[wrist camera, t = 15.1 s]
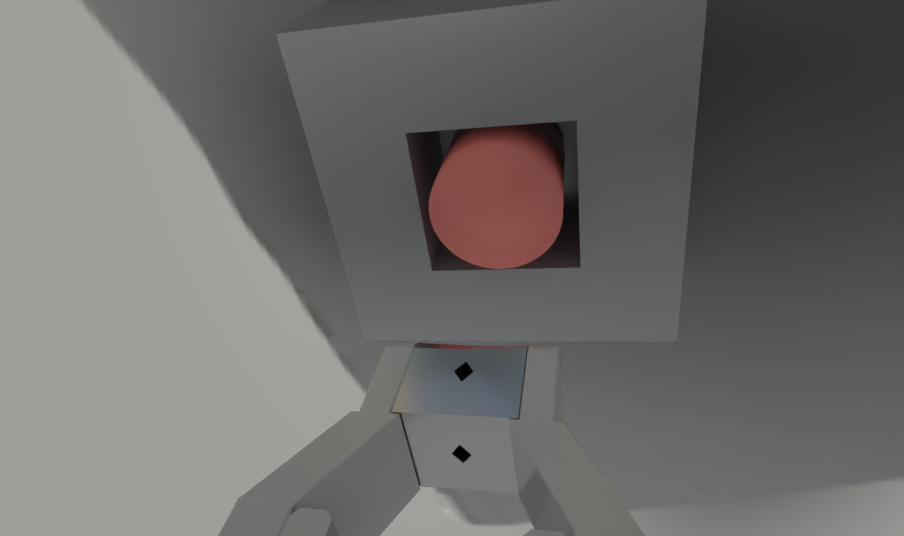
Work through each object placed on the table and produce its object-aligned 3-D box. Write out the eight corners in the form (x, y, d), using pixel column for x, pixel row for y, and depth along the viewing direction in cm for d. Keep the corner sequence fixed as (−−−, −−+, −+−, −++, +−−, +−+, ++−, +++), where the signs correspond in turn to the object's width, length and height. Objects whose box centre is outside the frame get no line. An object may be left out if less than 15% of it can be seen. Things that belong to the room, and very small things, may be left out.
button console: (681, -45, 16) (708, -18, 13) (661, 267, 21) (676, 341, 18) (329, 0, 18) (275, 34, 15) (393, 273, 23) (364, 340, 20)
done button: (562, 97, 17) (560, 145, 15) (566, 206, 19) (565, 267, 17) (442, 107, 18) (418, 155, 15) (458, 211, 20) (439, 270, 17)
